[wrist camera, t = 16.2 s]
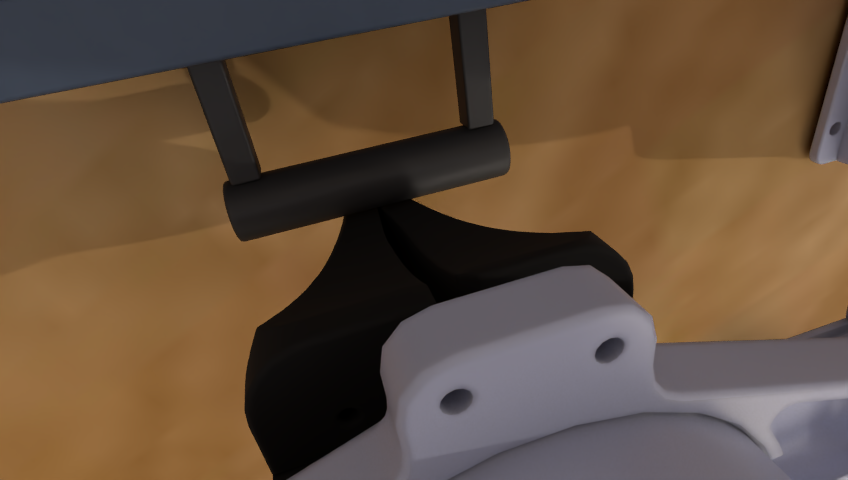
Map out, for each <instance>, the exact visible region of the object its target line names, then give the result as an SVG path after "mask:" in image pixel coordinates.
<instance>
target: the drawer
mask: <svg viewBox="0 0 848 480" xmlns="http://www.w3.org/2000/svg"><path fill="white" fill-rule="evenodd" d="M523 1H529V0H0V103H5V102H10V101H15V100H20V99H26V98H31V97H36V96H41V95H46V94H51V93H56V92H61V91H67V90H72V89H77V88H82V87H87V86H92V85H97V84H103V83H108V82H113V81H118V80H123V79H128V78H133V77H138V76H144V75H149V74H154V73H159V72H164V71H169V70H174V69H180V68H185V67H187V69H188V72H189V75H190V77H191V80H192V83H193V85H194V88H195V91H196V93H197V96H198V99H199V101H200V104H201V107H202V109H203V112H204V115H205V117H206V120H207V123H208V125H209V128H210V131H211V133H212V136H213V139H214V141H215V144H216V147H217V149H218V152H219V155H220V157H221V160H222V163H223V165H224V168H225V171H226V173H227V176H228V179H229V181H226V182H225V183H224V184H223V196H224V201H225V206H226V210H227V213H228V216H229V219H230V222H231V225H232V227H233V229H234V232H235V233H236V235H237V237H238V238H239V239H240V240H241V241H249V240H253V239H257V238H261V237H264V236H268V235H272V234H276V233H280V232H284V231H288V230H292V229H296V228H300V227H303V226H307V225H311V224H315V223H319V222H323V221H327V220H331V219H335V218H338V217H342V216H346V215H350V214H354V213H358V212H362V211H366V210H370V209H374V208H377V207H381V206H385V205H389V204H393V203H397V202H401V201H405V200H409V199H413V198H416V197H420V196H424V195H428V194H432V193H436V192H440V191H444V190H448V189H451V188H455V187H459V186H463V185H467V184H471V183H475V182H479V181H483V180H487V179H490V178H494V177H498V176H502V175H505V174H506V173H507V172H508V170H509V168H510V148H509V143H508V139H507V136H506V133H505V131H504V129H503V127H502V125H501V124H500V122H499V121H497V120H496V119H493V104H492V90H491V75H490V61H489V46H488V32H487V18H486V9H487V8H493V7H498V6H503V5H508V4H513V3H518V2H523ZM446 16H449V21H450V30H451V40H452V49H453V59H454V68H455V78H456V87H457V97H458V106H459V116H460V122H461V123H462V124H463V126H459V127H454V128H450V129H446V130H441V131H437V132H433V133H429V134H424V135H420V136H416V137H412V138H407V139H403V140H399V141H395V142H390V143H386V144H382V145H378V146H373V147H369V148H365V149H361V150H356V151H352V152H348V153H344V154H339V155H335V156H331V157H327V158H322V159H318V160H314V161H310V162H305V163H301V164H297V165H293V166H288V167H284V168H280V169H276V170H271V171H267V172H263V173H261V167H260V164H259V161H258V158H257V155H256V152H255V149H254V146H253V143H252V140H251V137H250V134H249V131H248V128H247V125H246V122H245V119H244V116H243V113H242V110H241V107H240V104H239V101H238V98H237V95H236V92H235V89H234V86H233V83H232V80H231V77H230V74H229V71H228V68H227V65H226V62H225V60H226V59H231V58H236V57H241V56H246V55H251V54H257V53H262V52H267V51H272V50H277V49H282V48H287V47H292V46H298V45H303V44H308V43H313V42H318V41H323V40H328V39H334V38H339V37H344V36H349V35H354V34H359V33H364V32H369V31H375V30H380V29H385V28H390V27H395V26H400V25H405V24H411V23H416V22H421V21H426V20H431V19H436V18H441V17H446Z"/></svg>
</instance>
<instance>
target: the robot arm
mask: <svg viewBox="0 0 848 480" xmlns="http://www.w3.org/2000/svg"><path fill="white" fill-rule="evenodd" d="M809 158H810V160H811V161H813V162H815V163H818V164H825V163H828V162H832V161H835V160H837V161H839V162H842V163H845V164H848V16H847V19H846V23H845V26H844V30H843V34H842V37H841V41H840V44H839V48H838V52H837V55H836V59H835V62H834V66H833V70H832V73H831V77H830V80H829V84H828V88H827V91H826V95H825V99H824V102H823V106H822V109H821V113H820V117H819V120H818V124H817V127H816V131H815V135H814V138H813V142H812V145H811V149H810V153H809ZM656 341H657V337H656V333H655V328H654V323H653V318H652V316H651V315H650V314H649V313H648V312H647V311H646V310H645V309H644V308H642V307H641V306H640V305H639V304H638V303H637V302H636V301H635V300H634V299H633V275H632V272H631V270H630V267H629V265H628V263H627V262H626V261H625V260H624V259H623V258H622V257H621V256H620V255H619V253H617V252H616V251H615V250H614V249H613V248H611V247H610V246H609V245H608V244H606V243H605V242H604V241H603V240H601V239H600V238H599V237H598V236H596V235H595V234H594V233H592V232H591V231H583V232H564V233H533V232H518V231H509V230H502V229H495V228H489V227H484V226H480V225H476V224H472V223H468V222H464V221H461V220H458V219H455V218H452V217H450V216H447V215H444V214H442V213H439V212H437V211H434V210H432V209H430V208H428V207H426V206H424V205H421V204H419V203H417V202H415V201H413V200H412V199H409V200H405V201H401V202H397V203H393V204H389V205H385V206H381V207H377V208H374V209H370V210H366V211H362V212H358V213H354V214H350V215H346V216H344V219H343V224H342V227H341V230H340V234H339V237H338V239H337V242H336V244H335V246H334V249H333V251H332V253H331V255H330V257H329V259H328V261H327V263H326V265H325V266H324V268H323V269H322V271H321V272H320V274H319V275H318V276H317V277H316V279H315V280H314V281H313V282H312V283H311V285H310V286H309V287H308V288H307V289H306V290H305V291H304V292H303V293H302V294H301V295H300V296H299V297H298V298H297V299H296V300H295V301H293V302H292V303H291V304H290V305H289V306H288V307H286V308H285V309H284V310H282V311H281V312H280V313H278V314H277V315H275V316H274V317H272V318H271V319H269V320H268V321H267V322H265V323H264V324H262V325H260V326H259V327H257V329H256V332H255V336H254V339H253V343H252V347H251V351H250V356H249V360H248V365H247V371H246V381H245V414H246V418H247V422H248V425H249V428H250V430H251V432H252V434H253V436H254V438H255V440H256V442H257V444H258V446H259V448H260V450H261V452H262V454H263V456H264V458H265V460H266V462H267V464H268V466H269V468H270V470H271V472H272V474H273V480H848V307H847V311H846V318H844V319H841V320H839V321H836V322H833V323H830V324H827V325H824V326H822V327H819V328H816V329H813V330H810V331H808V332H805V333H802V334H799V335H796V336H793V337H791V338H788V339H775V340H743V341H710V342H678V343H656Z"/></svg>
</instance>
